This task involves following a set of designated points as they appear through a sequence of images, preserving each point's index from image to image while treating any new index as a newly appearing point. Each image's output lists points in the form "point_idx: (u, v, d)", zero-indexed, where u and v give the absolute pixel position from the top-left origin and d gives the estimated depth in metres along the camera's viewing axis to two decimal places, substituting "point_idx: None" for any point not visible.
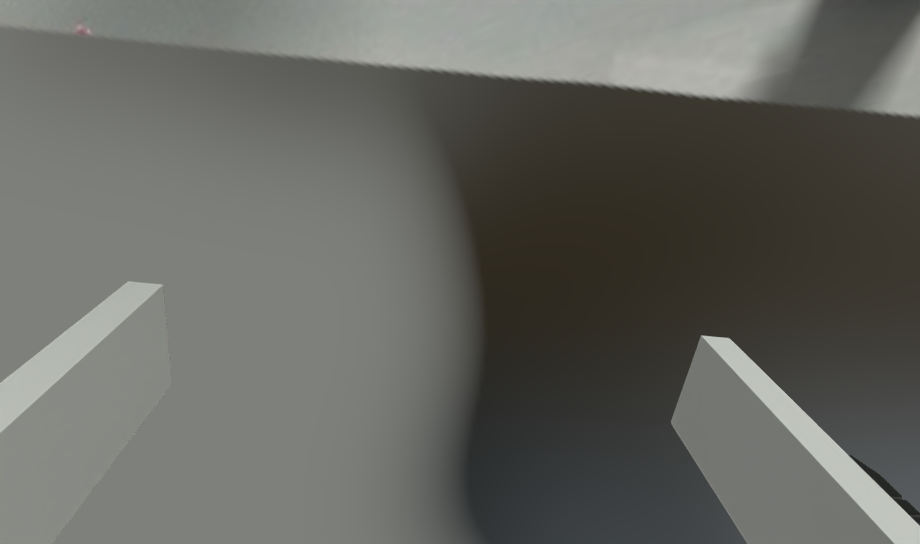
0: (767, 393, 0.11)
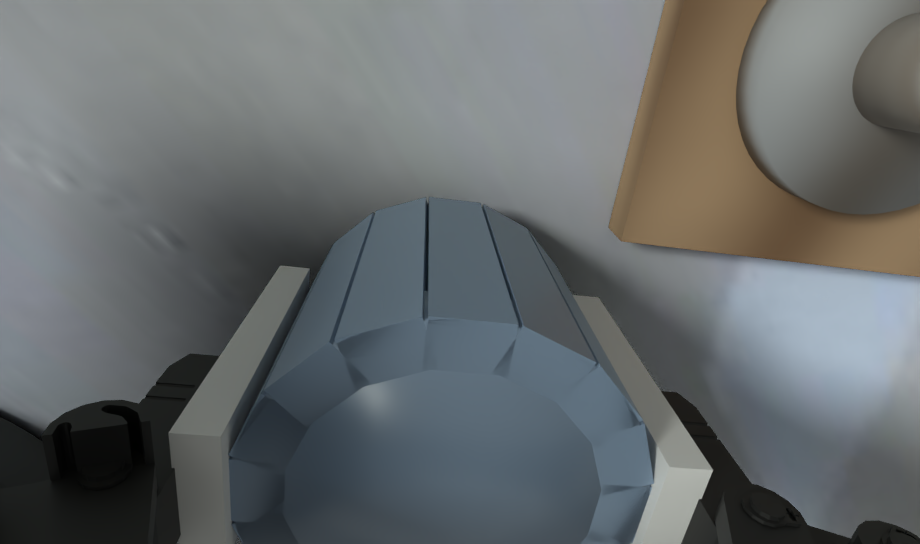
0: (609, 339, 0.13)
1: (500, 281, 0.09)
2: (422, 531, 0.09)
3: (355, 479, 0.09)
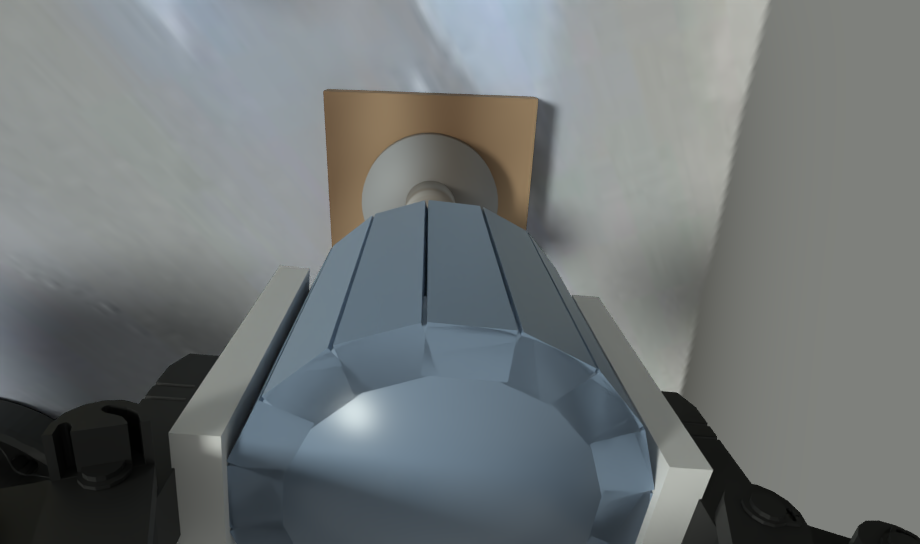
0: (609, 339, 0.13)
1: (499, 286, 0.09)
2: (421, 537, 0.09)
3: (354, 485, 0.09)
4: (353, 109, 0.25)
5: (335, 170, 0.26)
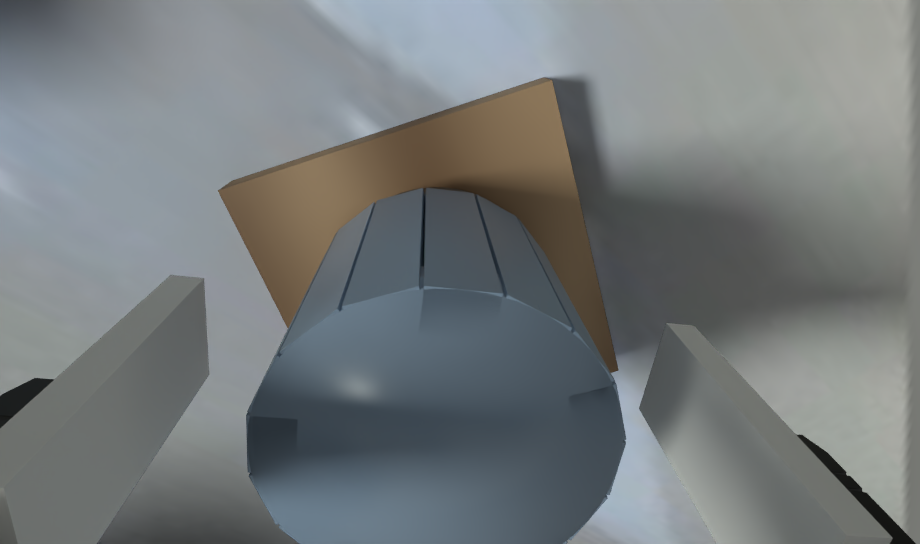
0: (723, 376, 0.12)
1: (488, 259, 0.10)
2: (419, 483, 0.10)
3: (359, 434, 0.10)
4: (272, 201, 0.16)
5: (283, 295, 0.17)
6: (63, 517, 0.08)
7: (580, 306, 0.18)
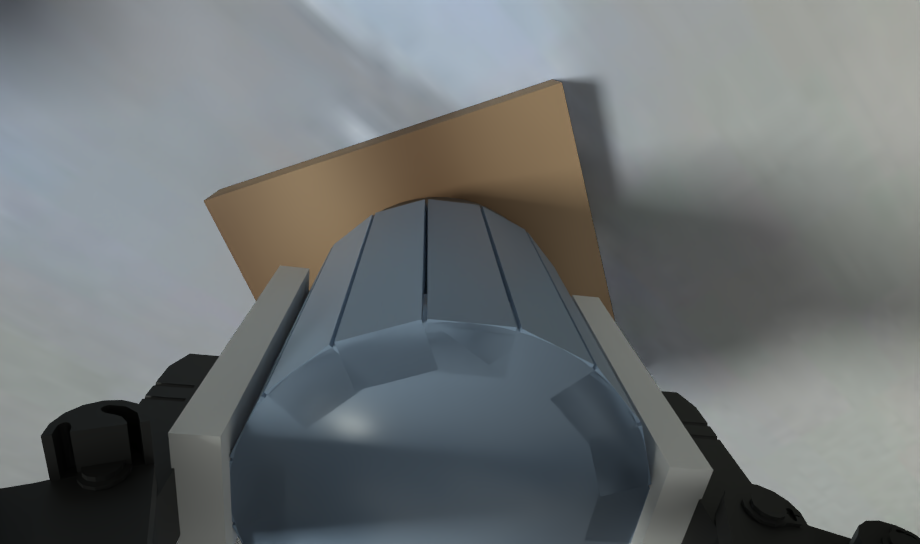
0: (609, 339, 0.13)
1: (498, 283, 0.09)
2: (421, 532, 0.09)
3: (355, 480, 0.09)
4: (262, 211, 0.15)
5: None
6: None
7: None
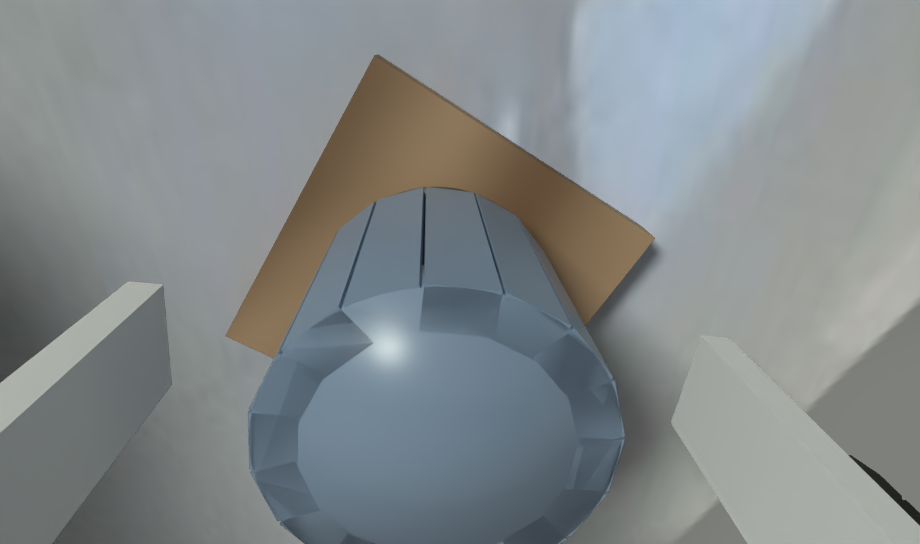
0: (767, 393, 0.11)
1: (488, 257, 0.10)
2: (419, 480, 0.11)
3: (360, 431, 0.10)
4: (403, 108, 0.15)
5: (324, 177, 0.16)
6: None
7: None
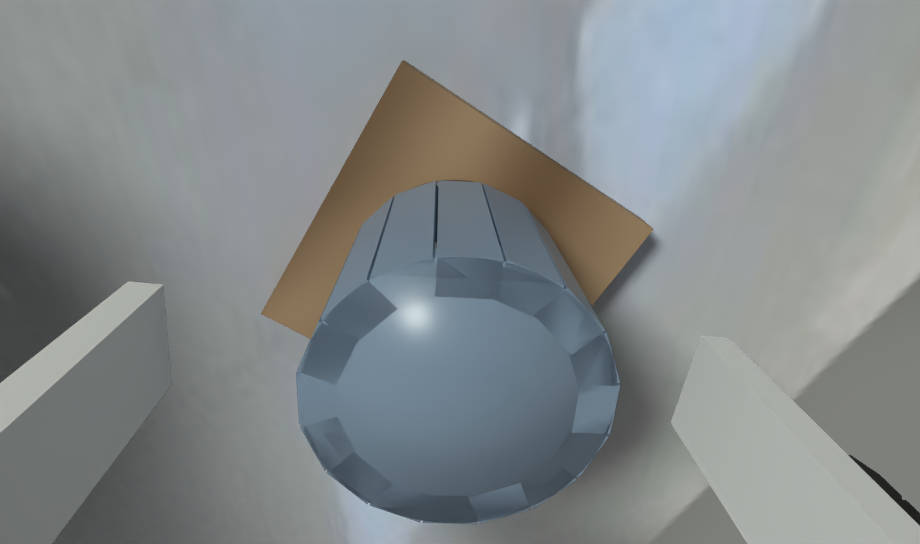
0: (767, 393, 0.11)
1: (372, 254, 0.12)
2: (468, 430, 0.12)
3: (396, 431, 0.12)
4: (426, 108, 0.17)
5: (354, 170, 0.17)
6: None
7: None
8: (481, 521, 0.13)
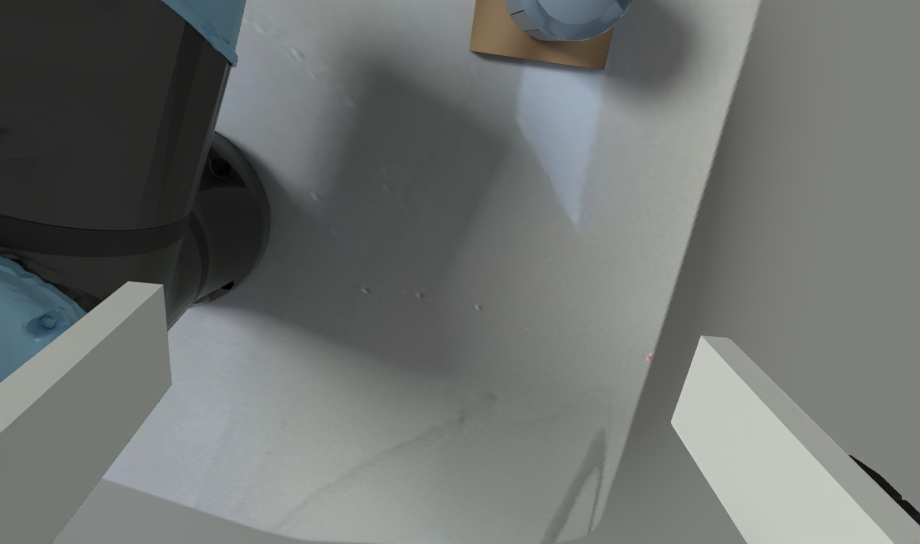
0: (767, 393, 0.11)
1: None
2: None
3: None
4: None
5: None
6: None
7: None
8: (607, 29, 0.32)
